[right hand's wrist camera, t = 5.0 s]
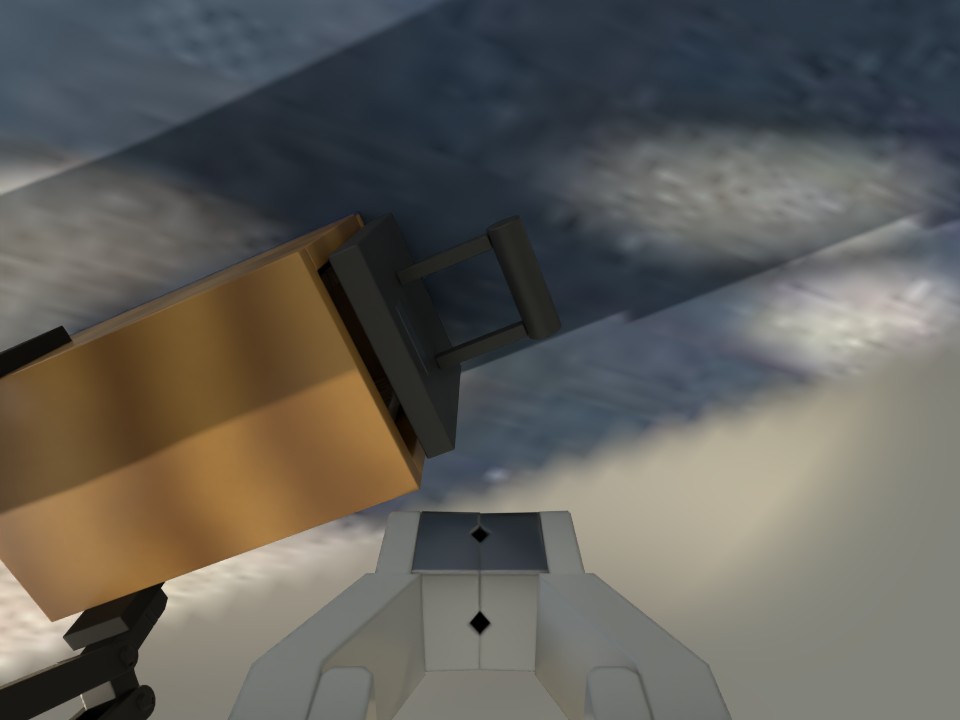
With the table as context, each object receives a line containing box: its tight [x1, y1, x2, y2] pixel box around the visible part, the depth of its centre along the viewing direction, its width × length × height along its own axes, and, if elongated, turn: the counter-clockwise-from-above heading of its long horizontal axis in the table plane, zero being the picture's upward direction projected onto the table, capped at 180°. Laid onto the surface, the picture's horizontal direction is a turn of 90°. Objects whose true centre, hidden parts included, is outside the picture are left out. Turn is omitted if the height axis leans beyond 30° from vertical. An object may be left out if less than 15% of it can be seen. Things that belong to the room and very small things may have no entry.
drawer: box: [317, 213, 561, 459], centre depth 28 cm, size 22×9×9 cm, turn 112°
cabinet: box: [0, 211, 425, 622], centre depth 29 cm, size 17×10×11 cm, turn 112°
